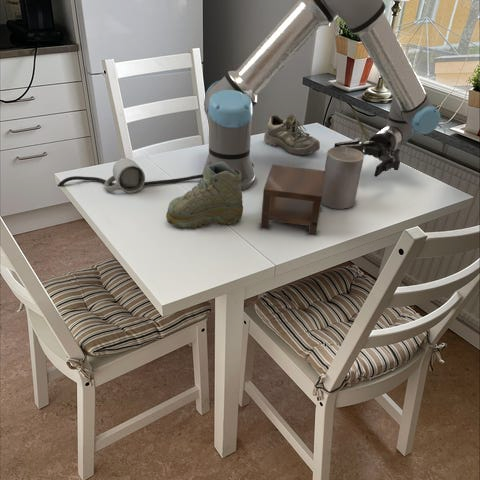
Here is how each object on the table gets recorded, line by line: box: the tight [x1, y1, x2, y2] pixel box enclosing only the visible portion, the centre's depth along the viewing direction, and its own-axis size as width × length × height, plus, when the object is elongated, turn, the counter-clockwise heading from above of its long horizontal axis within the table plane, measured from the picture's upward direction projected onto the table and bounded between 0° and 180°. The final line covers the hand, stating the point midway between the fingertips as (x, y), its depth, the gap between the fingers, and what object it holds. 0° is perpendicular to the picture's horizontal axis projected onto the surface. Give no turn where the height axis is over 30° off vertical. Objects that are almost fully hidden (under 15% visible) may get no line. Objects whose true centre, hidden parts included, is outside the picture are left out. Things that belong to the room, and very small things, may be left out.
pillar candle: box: [321, 147, 365, 210], centre depth 136 cm, size 10×10×15 cm
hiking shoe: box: [263, 114, 321, 155], centre depth 168 cm, size 9×21×12 cm, turn 51°
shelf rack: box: [260, 164, 326, 236], centre depth 130 cm, size 14×15×11 cm
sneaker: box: [165, 162, 244, 229], centre depth 125 cm, size 11×19×15 cm, turn 88°
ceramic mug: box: [103, 157, 146, 194], centre depth 140 cm, size 11×8×8 cm
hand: (353, 164), depth 140 cm, fingers open, 13 cm apart
